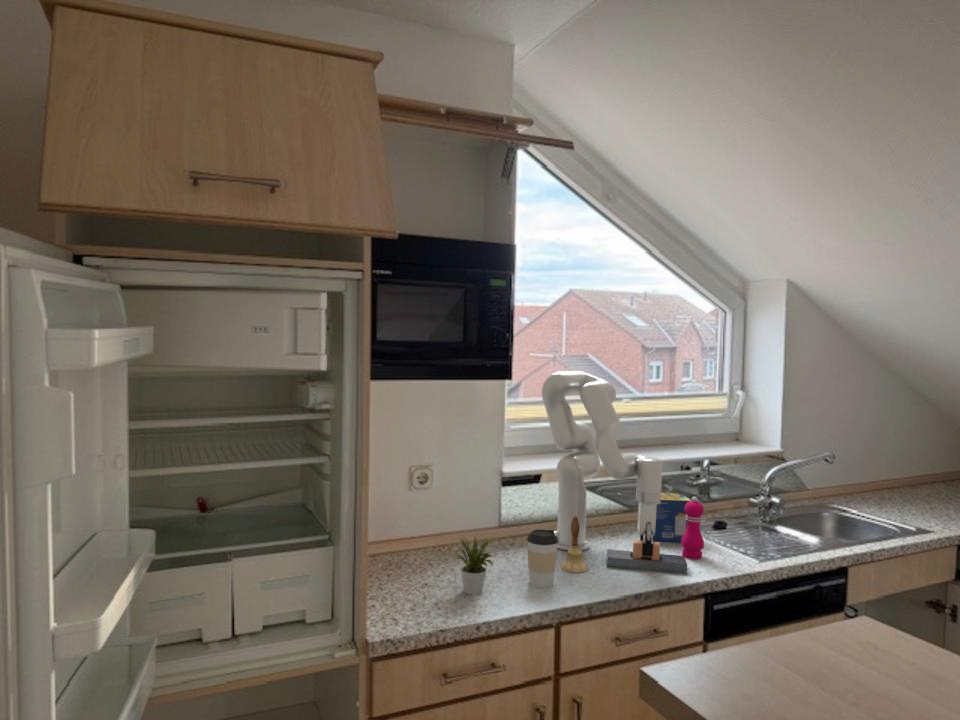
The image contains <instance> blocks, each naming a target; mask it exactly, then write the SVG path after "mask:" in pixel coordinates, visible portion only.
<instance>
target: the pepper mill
mask: <svg viewBox="0 0 960 720" xmlns="http://www.w3.org/2000/svg"><path fill="white" fill-rule="evenodd" d="M704 511H705V509H704V506H703V504H702V503H701V502H699V501H698V498H697V497H696V496H693V497H691V501H689V502H687V503H686V505H685V512H686V513H687V515H686V520H687V529H686V531H685V533H684V535H683V537H682V541H681V543H680V544H681V546H682V547H683V549H682V552H681V553H682V554H681V556H684V558H685V559H690V560H701V559H702V557H703V551H701V550H703V549H704V548H705V542H704V538H703V535H702V533H701V528H700V526H701V522H702V519H703V517H702V515H703V513H704Z"/></svg>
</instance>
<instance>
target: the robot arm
mask: <svg viewBox="0 0 960 720" xmlns="http://www.w3.org/2000/svg"><path fill="white" fill-rule="evenodd" d="M568 396H579V398H580V400H581V402H582V404H583V406H584V408H585V410H586V412H587V415H588V417H589V419H590V422H591V423H592V425H593V427H594V429H595V432H596V433H595V434H596V438H595V436H594V434H593V431H592V430H591V427H590V426H589V425H588V424H587V423H585V421H584V422H583V421H580V420H577V421H576V420H575V419H574V415H573V411H572V408H571V406H570V404H569V403H568V401H567V399H566V397H568ZM616 397H617V391H616V388H615V387H614V386H613V385H612V383H610V382H609V381H608V380H605V379H602V378H599V377H597V376H594V375H592V374H589V373H586V372H584V371H581V370H562V371H556V372H554V373H551V374H550V375H549V376H547V377H546V379H544V382H543V384H542V387H541V399H542V401H543V405H544V408H545V410H546V414H547V419H548V423H549V427H550V431H551V434H552V439H553V442H554V445H555V446H556V448H557V449H558V450H561V451H572V453H569V454H566V455H564V456H562V457H561V458H560V459H559V461H558V462H557V465H556V475H557V482H558V497H557V499H558V504H557V505H558V507H557V509H558V510H557V527H556V530H553V531H554V533H555V535H556V536H557V537H558V543H557V549H559V550H563V551H568V550H569V549H572V533H571V523H572V520H573V517H577V518H578V522H579V534H578V537H577V542H578V543H577V544H578V549H579V550H581V551H582V552H583V551H586V550H589V548H590V542H589V541H588V540H586V527H587V526H586V524H587V523H586V522H587V520H586V519H587V497H588V496H587V489H586V488H587V487H586V485H585V480H588V479H591V478H594V477H595V476H597V475H598V473H599V472H600V469H601V463H602V465H603V467H604V469H605V471H606V473H607V474H608V475H609V477H611V478H612V479H614V480H616V481H617V480H618V481H622V480H626V479H629V478H634V477H636V488H635V489H636V492H635V501H636V502H637V503H638V510H637V513H638V514H637V525H636V528H637V532H638V535H640V536H639V537H640V539H639V540H640V541H643V542H642V555H643V556H650V557H652V556H653V536H654V535H655V527H656V510H657V504H660V503H661V493H662V481H663V480H662V479H663V478H662V477H663V462H662V460H661V459H660V458H657V457H653V456H652V457H651V456H644V455H640V454H638V453H633V452H628V453H623V454H622V452H621V451H620V449H619V446H618V443H617V439H616V434H617V430H618V427H619V426H620V424H621V419H620V417H619V415H618V413H617V411H616V410H615V408H614V406H613V403H614V402H615V401H616ZM595 439H596V440H595Z"/></svg>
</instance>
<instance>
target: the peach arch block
mask: <svg viewBox="0 0 960 720" xmlns="http://www.w3.org/2000/svg"><path fill="white" fill-rule="evenodd" d="M642 542H643V541H640V539H639V540H638V539H633V540H632V551H633V558H641V556H643V555H642ZM660 554H661V543H659V542H653V556H652V557H651V559H652V560H660ZM643 557H650V556H643Z"/></svg>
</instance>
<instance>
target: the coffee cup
mask: <svg viewBox="0 0 960 720" xmlns="http://www.w3.org/2000/svg"><path fill="white" fill-rule="evenodd" d="M554 531H555V530H552V529H534V530H532V531H531V532H530V533H529V534H527V538H526V541H527V549H526V550H527V564H528V565H527V568H528V576H529V577H528V579H529V580H528V581H529V584H530V585H531V586H533V587H537V588H550V587H552V586H553V585H554V579H555V578H554V577H555V571H556V563H557V555H558V548H557V543H558V537H557V536H556V535H555V533H554Z"/></svg>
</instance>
